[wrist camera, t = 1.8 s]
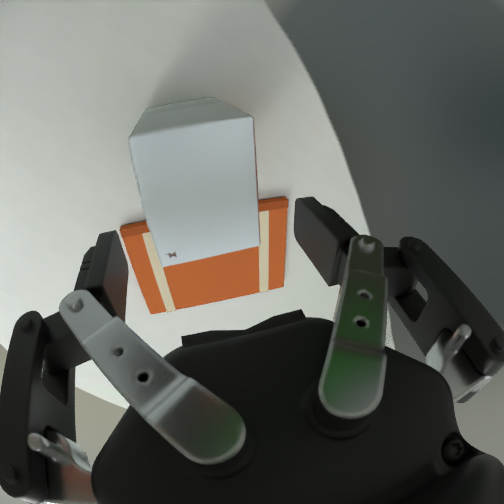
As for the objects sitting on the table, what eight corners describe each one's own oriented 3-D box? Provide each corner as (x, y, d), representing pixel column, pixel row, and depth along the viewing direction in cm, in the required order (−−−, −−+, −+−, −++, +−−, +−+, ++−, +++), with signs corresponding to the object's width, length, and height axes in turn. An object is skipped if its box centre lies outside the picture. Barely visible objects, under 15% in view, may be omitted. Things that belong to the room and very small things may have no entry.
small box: (222, 174, 28) (262, 249, 18) (159, 186, 26) (159, 271, 16) (214, 94, 23) (255, 114, 13) (144, 107, 21) (123, 137, 11)
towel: (120, 224, 27) (119, 229, 27) (285, 195, 31) (288, 199, 30) (150, 310, 35) (151, 315, 35) (281, 283, 39) (284, 287, 38)
